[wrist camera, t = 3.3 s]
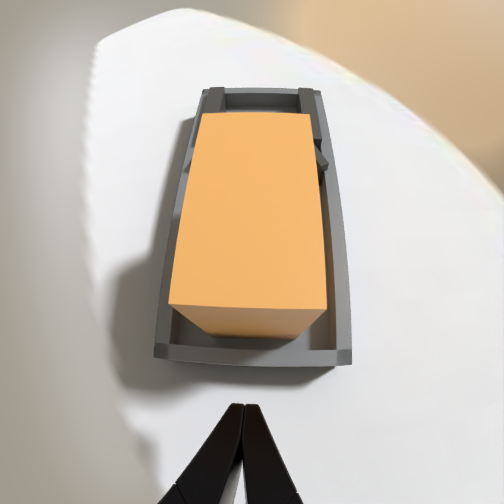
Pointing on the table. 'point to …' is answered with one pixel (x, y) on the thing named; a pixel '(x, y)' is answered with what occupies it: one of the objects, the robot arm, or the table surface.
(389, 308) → the table surface
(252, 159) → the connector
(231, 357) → the tray
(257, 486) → the robot arm
